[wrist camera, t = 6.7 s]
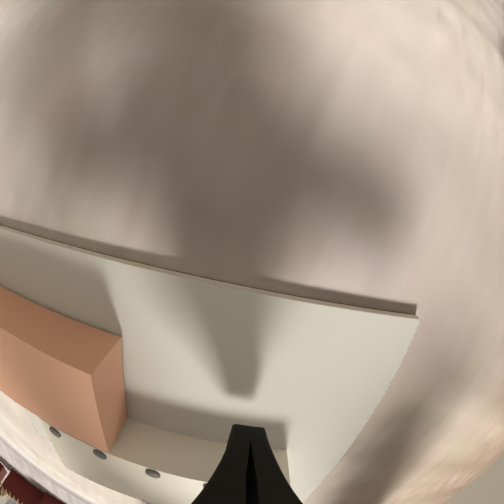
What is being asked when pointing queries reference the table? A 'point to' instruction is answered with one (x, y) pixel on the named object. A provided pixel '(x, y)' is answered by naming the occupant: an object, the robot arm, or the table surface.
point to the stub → (62, 370)
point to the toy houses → (23, 490)
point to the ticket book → (148, 462)
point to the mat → (222, 350)
